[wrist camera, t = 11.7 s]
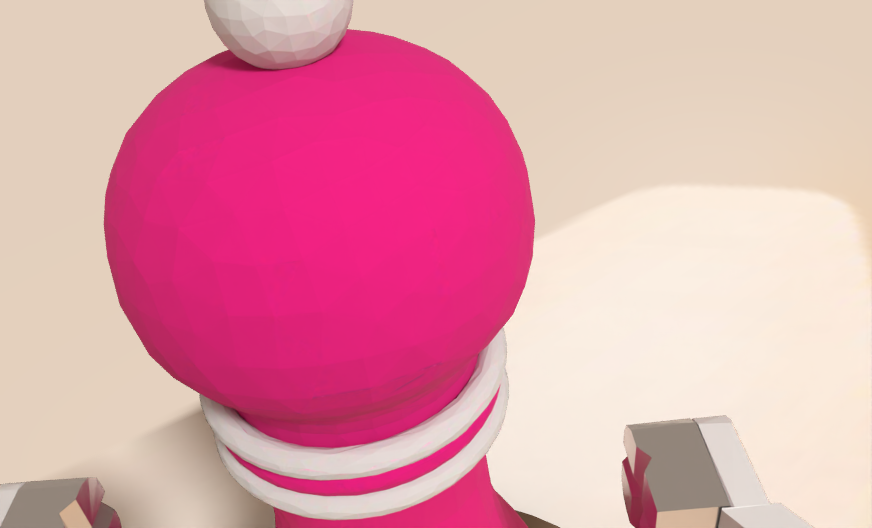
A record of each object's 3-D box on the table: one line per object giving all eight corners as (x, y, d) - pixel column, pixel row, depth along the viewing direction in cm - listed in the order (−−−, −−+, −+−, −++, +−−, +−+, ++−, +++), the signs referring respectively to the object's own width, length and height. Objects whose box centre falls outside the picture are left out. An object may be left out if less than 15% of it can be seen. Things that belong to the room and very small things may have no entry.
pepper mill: (370, 977, 17) (-69, 118, 5) (255, 686, 22) (-92, -67, 10) (631, 774, 19) (736, -102, 8) (473, 557, 25) (393, -159, 13)
